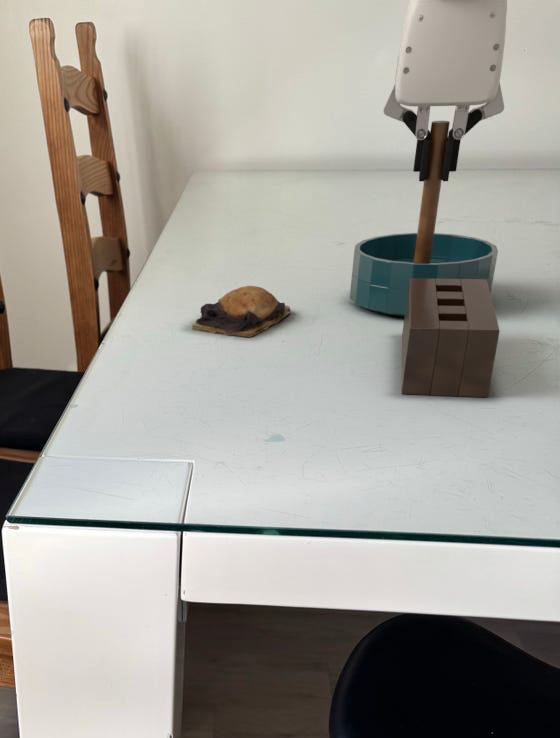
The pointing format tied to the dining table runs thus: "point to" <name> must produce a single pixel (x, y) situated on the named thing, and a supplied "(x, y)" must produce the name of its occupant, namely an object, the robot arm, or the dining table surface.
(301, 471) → the dining table surface
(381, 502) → the dining table surface
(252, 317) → the turtle figurine
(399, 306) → the bowl
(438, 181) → the stick
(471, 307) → the holder
